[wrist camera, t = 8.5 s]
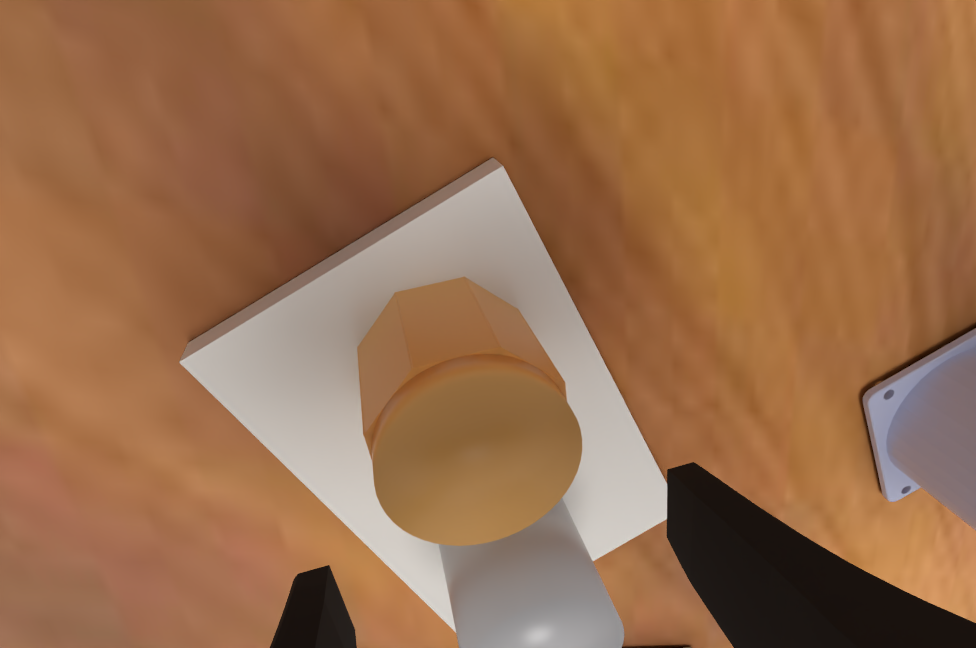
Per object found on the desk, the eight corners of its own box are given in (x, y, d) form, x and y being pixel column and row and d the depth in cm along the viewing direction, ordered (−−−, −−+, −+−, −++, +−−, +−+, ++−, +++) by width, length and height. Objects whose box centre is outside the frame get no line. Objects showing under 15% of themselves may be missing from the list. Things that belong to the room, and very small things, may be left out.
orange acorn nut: (512, 265, 18) (575, 351, 13) (530, 400, 21) (589, 513, 16) (344, 303, 18) (347, 408, 13) (384, 439, 20) (399, 568, 15)
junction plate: (493, 157, 18) (569, 222, 12) (667, 491, 26) (761, 624, 20) (187, 342, 18) (119, 492, 12) (455, 613, 27) (489, 777, 21)
